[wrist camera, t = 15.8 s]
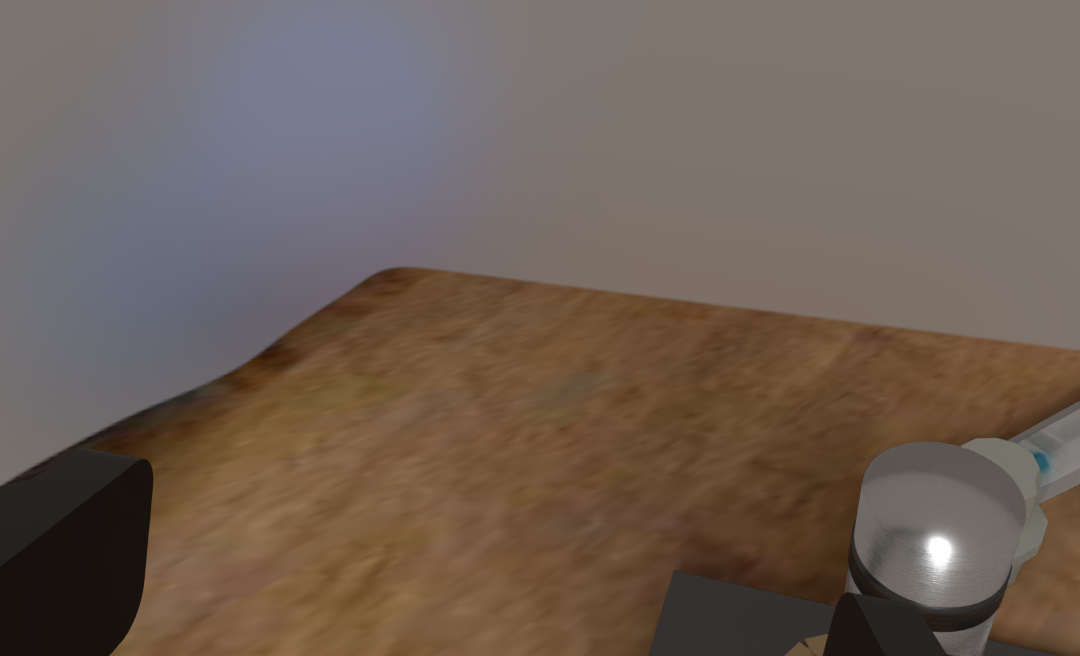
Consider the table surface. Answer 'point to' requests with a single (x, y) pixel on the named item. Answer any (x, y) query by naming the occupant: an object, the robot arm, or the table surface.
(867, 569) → the silver tall cylinder
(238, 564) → the table surface
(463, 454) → the table surface
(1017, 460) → the grey faceted piece
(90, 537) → the robot arm
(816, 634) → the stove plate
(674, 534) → the table surface
